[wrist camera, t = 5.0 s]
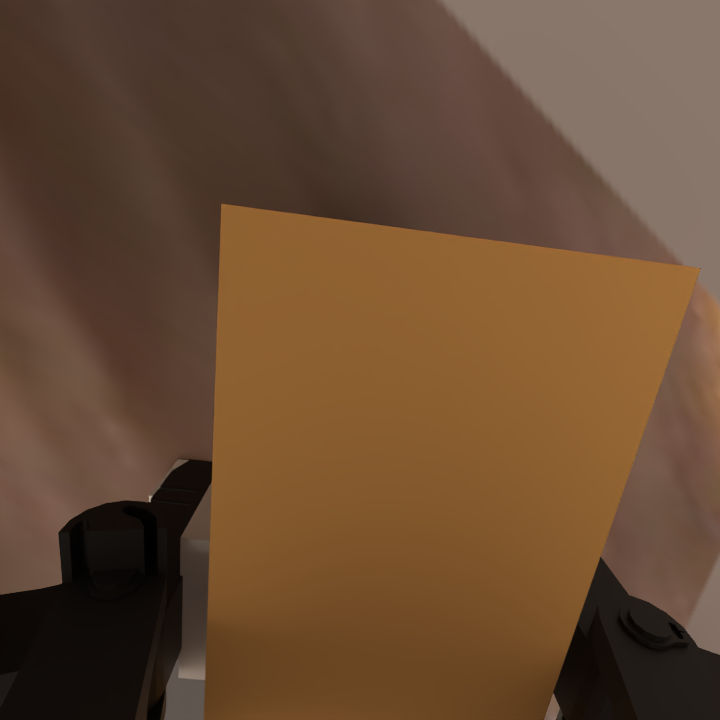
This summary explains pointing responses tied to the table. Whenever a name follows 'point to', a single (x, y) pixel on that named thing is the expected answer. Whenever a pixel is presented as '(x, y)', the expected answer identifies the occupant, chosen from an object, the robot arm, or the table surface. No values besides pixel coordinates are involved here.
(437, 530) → the tall orange brick
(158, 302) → the table surface
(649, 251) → the table surface
